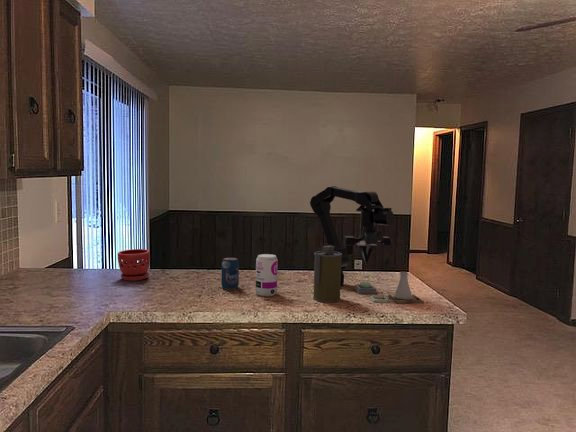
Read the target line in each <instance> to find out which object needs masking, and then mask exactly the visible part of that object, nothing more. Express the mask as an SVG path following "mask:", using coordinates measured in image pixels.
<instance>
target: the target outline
mask: <svg viewBox="0 0 576 432" xmlns="http://www.w3.org/2000/svg"><path fill="white" fill-rule="evenodd" d="M411 294H412V293H411ZM387 295H388V296H387V298H388V299H390V300H392V301H393V302H394V303H395V304H398V305H399V304H401V305H402V304H405V305H406V304H424V300H423V299H421V298H420V297H418V296H417V295H416V294H412V297H413V298H414V299H415V300H412V299H411V300H402V299H401V300H398V299H396V298H394V297H393V296H392V295H391V294H387Z"/></svg>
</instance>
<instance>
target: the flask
mask: <svg viewBox="0 0 576 432" xmlns="http://www.w3.org/2000/svg"><path fill="white" fill-rule="evenodd" d="M399 274H400V278H399V282H398V285H397V287H396V289H395V292H394V294H393V296H392V297H393V298H395V299H396V300H401V301H402V300H412V299H413V298H414V297H412V291H411V289H410V285H409V281H408V278H409V276H408V275H409V272H408V271H400V272H399Z"/></svg>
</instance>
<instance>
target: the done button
mask: <svg viewBox="0 0 576 432" xmlns="http://www.w3.org/2000/svg"><path fill="white" fill-rule="evenodd" d="M370 284H371V282H369V281H360V287H361V288H370Z"/></svg>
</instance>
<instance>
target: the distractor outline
mask: <svg viewBox="0 0 576 432" xmlns="http://www.w3.org/2000/svg"><path fill="white" fill-rule="evenodd" d="M369 299H370V300H371V301H372V302H373V303H390V302H391V299H390V298H389V297H388V296H386V295H370V296H369Z"/></svg>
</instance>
